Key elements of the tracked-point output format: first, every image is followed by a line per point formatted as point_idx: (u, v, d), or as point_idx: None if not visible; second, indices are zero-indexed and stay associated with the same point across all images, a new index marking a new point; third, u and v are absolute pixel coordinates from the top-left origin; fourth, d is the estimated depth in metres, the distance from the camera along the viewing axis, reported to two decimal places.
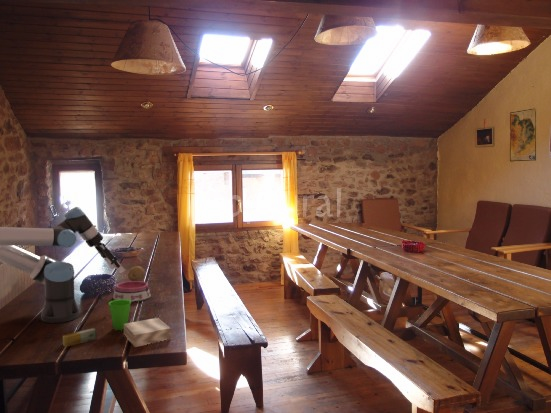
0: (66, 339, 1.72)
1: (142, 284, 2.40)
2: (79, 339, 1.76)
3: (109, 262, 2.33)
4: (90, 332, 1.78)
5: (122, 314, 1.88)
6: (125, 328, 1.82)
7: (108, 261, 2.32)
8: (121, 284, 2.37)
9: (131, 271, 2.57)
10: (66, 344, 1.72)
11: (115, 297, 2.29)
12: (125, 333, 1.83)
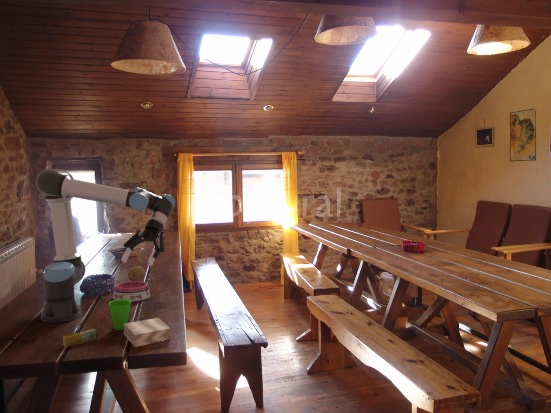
0: (66, 339, 1.72)
1: (142, 284, 2.40)
2: (79, 340, 1.75)
3: (126, 254, 2.03)
4: (91, 332, 1.78)
5: (122, 314, 1.88)
6: (125, 328, 1.83)
7: (127, 252, 2.04)
8: (121, 284, 2.37)
9: (131, 271, 2.57)
10: (66, 344, 1.72)
11: (115, 297, 2.29)
12: (125, 333, 1.83)
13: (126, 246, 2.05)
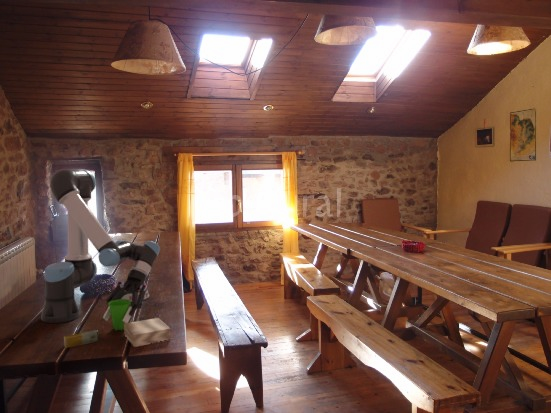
0: (67, 340, 1.71)
1: None
2: (80, 341, 1.74)
3: (109, 310, 1.92)
4: (92, 334, 1.77)
5: (122, 314, 1.88)
6: (125, 328, 1.83)
7: None
8: None
9: None
10: (67, 345, 1.71)
11: None
12: (125, 333, 1.83)
13: None
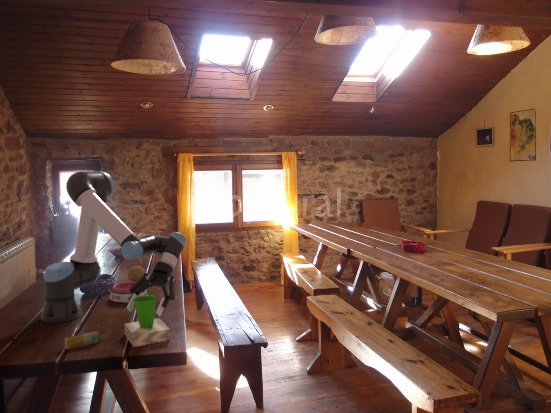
0: (68, 341, 1.70)
1: None
2: (81, 342, 1.73)
3: (132, 301, 1.84)
4: (93, 335, 1.75)
5: (149, 310, 1.79)
6: (126, 328, 1.83)
7: None
8: (118, 285, 2.36)
9: (131, 271, 2.57)
10: (68, 346, 1.70)
11: (112, 298, 2.28)
12: (126, 333, 1.83)
13: (132, 292, 1.86)
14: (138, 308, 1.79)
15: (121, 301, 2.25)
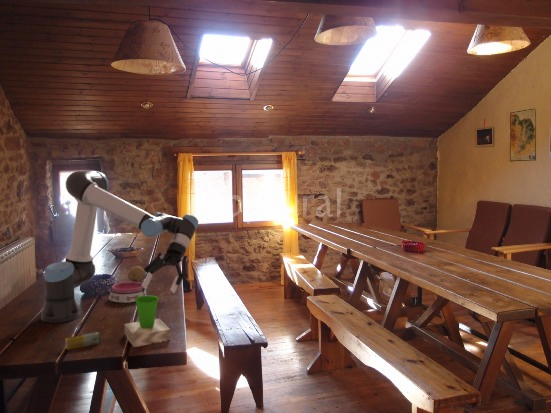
0: (68, 342, 1.70)
1: (138, 285, 2.38)
2: (82, 343, 1.72)
3: (147, 279, 1.92)
4: (93, 336, 1.75)
5: (151, 310, 1.79)
6: (126, 328, 1.83)
7: (148, 277, 1.92)
8: (117, 285, 2.36)
9: (131, 271, 2.57)
10: (68, 347, 1.70)
11: (111, 298, 2.27)
12: (126, 333, 1.83)
13: (147, 270, 1.94)
14: (141, 309, 1.78)
15: (120, 301, 2.25)
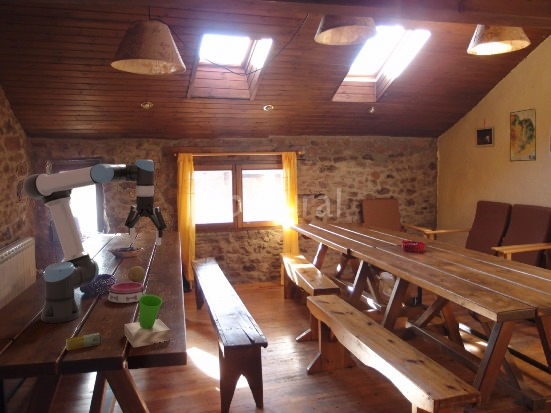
0: (68, 343, 1.69)
1: (137, 285, 2.38)
2: (82, 343, 1.72)
3: (132, 234, 2.05)
4: (94, 336, 1.74)
5: (157, 312, 1.79)
6: (125, 328, 1.82)
7: (132, 233, 2.05)
8: (116, 285, 2.35)
9: (131, 271, 2.57)
10: (68, 348, 1.69)
11: (110, 298, 2.27)
12: (125, 333, 1.83)
13: (128, 227, 2.05)
14: (149, 312, 1.76)
15: (119, 301, 2.24)
